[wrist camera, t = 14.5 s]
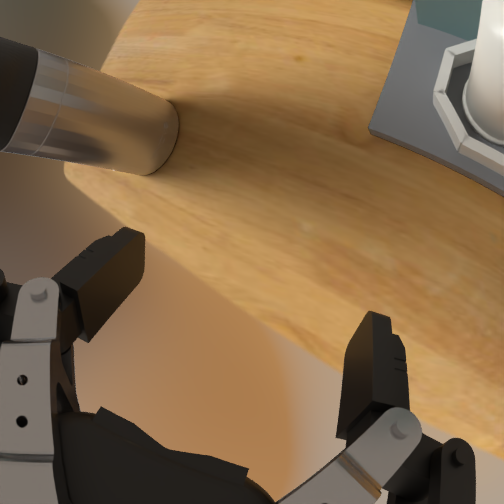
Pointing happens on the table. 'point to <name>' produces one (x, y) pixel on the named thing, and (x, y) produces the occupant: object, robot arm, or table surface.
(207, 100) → the table surface
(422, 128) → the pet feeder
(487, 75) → the bottle
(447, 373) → the table surface
